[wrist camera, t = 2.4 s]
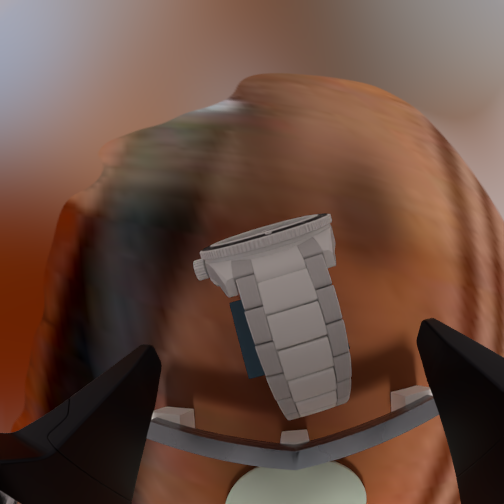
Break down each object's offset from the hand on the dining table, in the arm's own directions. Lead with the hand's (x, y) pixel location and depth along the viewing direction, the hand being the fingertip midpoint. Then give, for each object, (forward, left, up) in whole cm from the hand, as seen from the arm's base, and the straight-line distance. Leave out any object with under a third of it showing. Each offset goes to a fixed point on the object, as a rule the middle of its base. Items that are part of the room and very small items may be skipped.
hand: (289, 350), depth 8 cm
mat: (-12, -2, -9) cm, 15 cm away
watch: (+1, 0, -9) cm, 9 cm away
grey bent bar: (-4, -1, -6) cm, 8 cm away
